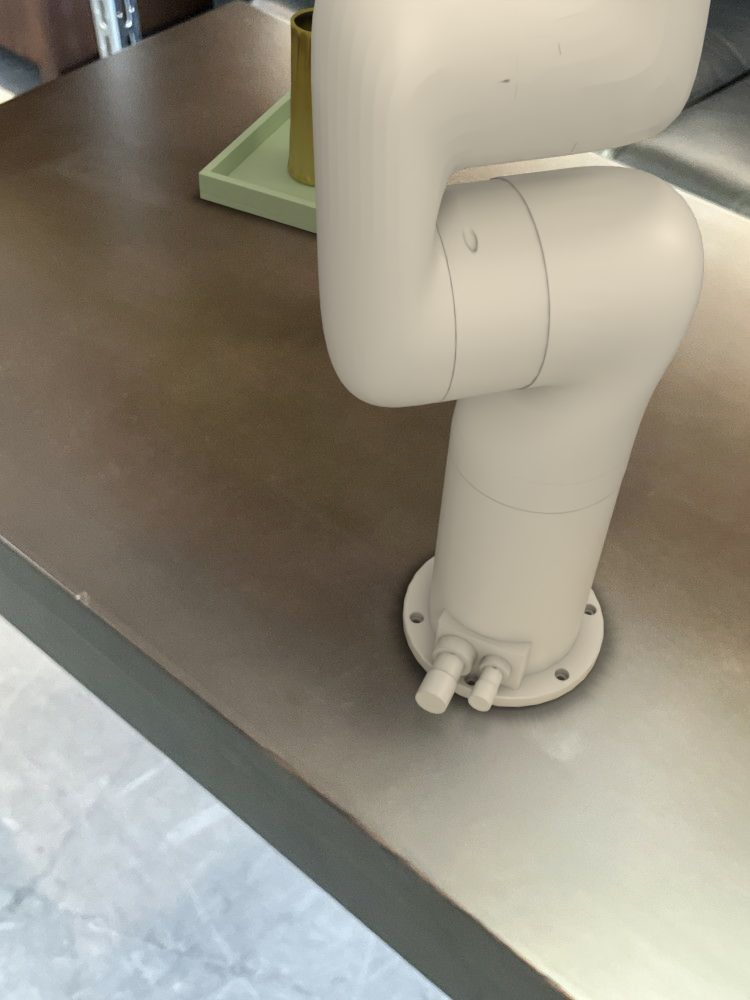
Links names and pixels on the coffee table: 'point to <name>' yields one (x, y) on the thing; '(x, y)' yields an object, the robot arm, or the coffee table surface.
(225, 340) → the coffee table surface
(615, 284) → the robot arm
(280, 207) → the tray
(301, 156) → the vase
